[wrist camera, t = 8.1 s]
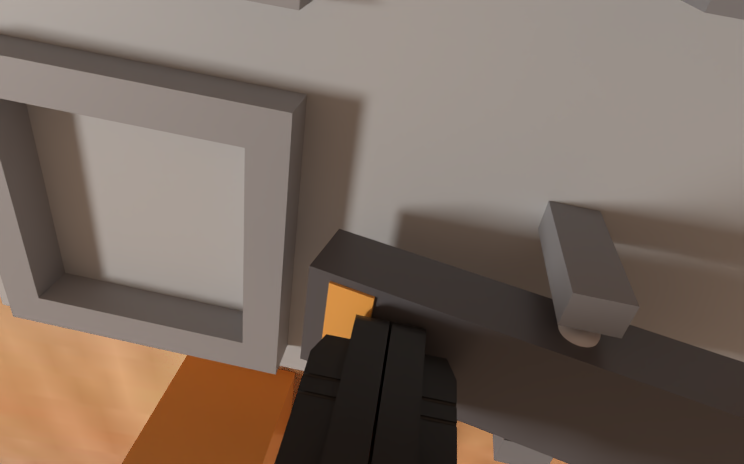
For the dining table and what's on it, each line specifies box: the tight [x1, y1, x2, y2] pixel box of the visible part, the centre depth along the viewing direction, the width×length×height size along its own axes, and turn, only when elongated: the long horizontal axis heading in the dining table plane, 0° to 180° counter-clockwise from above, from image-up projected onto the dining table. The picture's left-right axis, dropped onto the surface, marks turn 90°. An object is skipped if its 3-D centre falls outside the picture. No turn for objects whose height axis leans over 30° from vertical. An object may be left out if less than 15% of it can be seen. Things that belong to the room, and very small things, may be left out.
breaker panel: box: [0, 0, 744, 464], centre depth 11 cm, size 23×20×6 cm
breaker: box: [300, 229, 744, 464], centre depth 11 cm, size 11×3×2 cm, turn 81°
